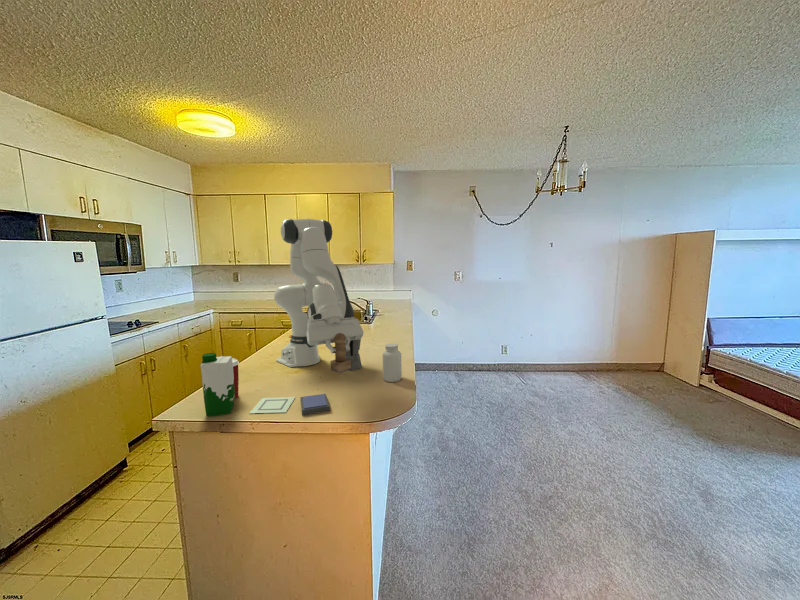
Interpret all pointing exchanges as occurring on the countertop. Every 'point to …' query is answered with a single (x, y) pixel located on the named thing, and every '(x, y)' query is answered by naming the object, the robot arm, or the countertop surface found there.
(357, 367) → the coffeepot
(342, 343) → the stamp
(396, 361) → the pill bottle
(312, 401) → the ink pad
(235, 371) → the paper cup
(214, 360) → the milk carton
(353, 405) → the countertop surface
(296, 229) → the robot arm
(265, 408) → the card
